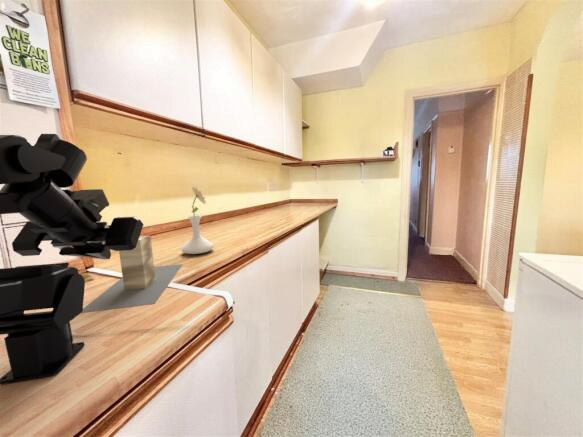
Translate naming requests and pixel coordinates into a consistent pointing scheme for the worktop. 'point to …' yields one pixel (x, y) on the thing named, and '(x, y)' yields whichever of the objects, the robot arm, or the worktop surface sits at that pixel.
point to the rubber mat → (134, 292)
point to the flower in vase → (196, 231)
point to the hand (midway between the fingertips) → (108, 257)
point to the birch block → (138, 265)
